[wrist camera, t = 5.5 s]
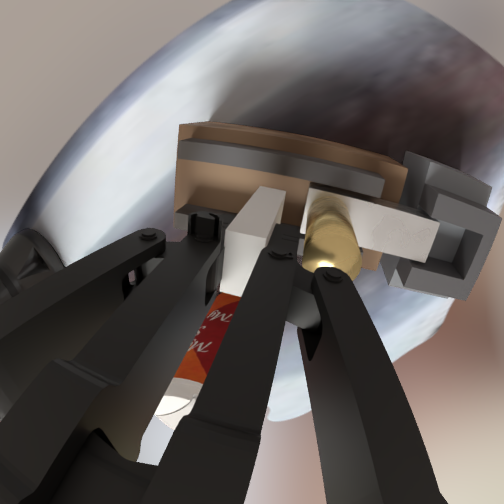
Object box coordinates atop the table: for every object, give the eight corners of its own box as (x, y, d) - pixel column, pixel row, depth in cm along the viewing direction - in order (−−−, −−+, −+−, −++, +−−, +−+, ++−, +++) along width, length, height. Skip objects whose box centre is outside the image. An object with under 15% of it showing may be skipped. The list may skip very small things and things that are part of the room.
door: (200, 203, 28) (161, 236, 21) (208, 121, 24) (166, 126, 17) (365, 238, 26) (380, 285, 19) (387, 156, 22) (417, 174, 15)
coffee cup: (219, 268, 30) (154, 376, 17) (287, 305, 31) (261, 427, 18) (193, 317, 35) (137, 414, 21) (252, 348, 35) (218, 453, 22)
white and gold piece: (301, 222, 20) (291, 284, 13) (309, 181, 18) (305, 223, 12) (417, 251, 19) (455, 317, 12) (431, 213, 17) (480, 268, 10)
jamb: (376, 251, 26) (395, 305, 18) (405, 150, 21) (445, 168, 14) (427, 264, 25) (457, 317, 18) (460, 170, 20) (510, 197, 13)
